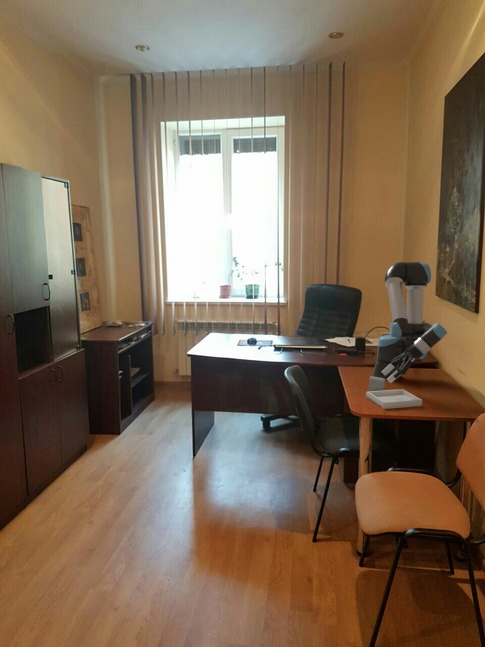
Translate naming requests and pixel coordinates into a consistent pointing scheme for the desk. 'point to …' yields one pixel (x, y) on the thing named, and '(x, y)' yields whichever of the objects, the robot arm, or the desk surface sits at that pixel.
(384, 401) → the tray
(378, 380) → the ceramic mug
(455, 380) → the desk surface
